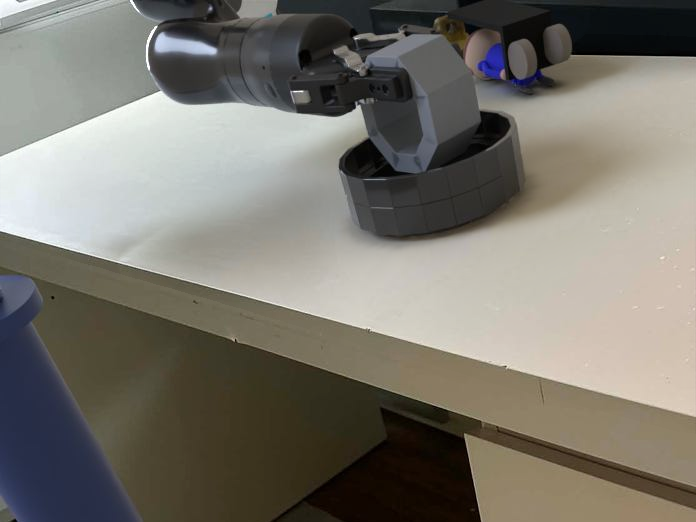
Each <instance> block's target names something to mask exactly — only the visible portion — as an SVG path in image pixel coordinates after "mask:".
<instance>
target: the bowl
mask: <svg viewBox="0 0 696 522" xmlns="http://www.w3.org/2000/svg"><path fill="white" fill-rule="evenodd" d="M479 112H480V117H481V122H480V124H479V126H478V128H477V130H476V132H475V134H474V136H473V138H472V140H471V142H470V144H469V146H468V148H467V150H466V151H465V152H464V153H462V154H460V155H458V156H457V157H455V158H453V159H451V160H450V161H448V162H446V163H444V164H443V165H441V166H439V167H437V168H436V169H433V170H428V171H424V172H420V173H416V174H413V173H407V172H400V171H396V170H395V169H394V168H393V167H392V166H391V164H390V163H389V162H388V161H387V159H386V158H385V157H384V156H383V154H382V153H381V152H380V151H379V149H378V148H377V147H376V146H375V144H374V143H373V142H372V141H371V139H370V138H369V136H368V135H367V136H366V137H364V138H362V139H360V140H359V141H358V142H357V143H355V144H353V145H352V146H350V147H349V148H348V149H346V151H345V152H344V153H342V155H341V157H339V159H338V167H337V170H338V173H339V178H340V180H341V184H342V187H343V190H344V195H345V198H346V201H347V205H348V209H349V212H350V215H351V219H352V221H353V223H354V224H355V225H356V226H357V227H358V228H359V229H360V230H362V231H365V232H368V233H372V234H375V235H378V236H381V235H382V236H388V237H399V238H400V237H401V238H402V237H403V238H405V237H406V238H408V237H421V236H428V235H434V234H440V233H444V232H448V231H451V230H456V229H459V228H461V227H464V226H467V225H469V224H473V223H475V222H478V221H480V220H481V219H484V218H486V217H488V216H490V215H491V214H493V213H495V212H496V211H498V210H499V209H501V208H502V207H503V206H505V205H506V204H508V203H509V202H510V201H512V199H514V198H515V197H516V196H517V195H518V194H520V193H521V191H522V189H523V188H524V185H525V183H526V175H525V169H524V162H523V155H522V148H521V142H520V136H519V129H518V125H517V122H516V120H515V119H516V118H515V117H514V116H513V115H511V114H509V113H506V112H505V111H502V110H494V109H487V108H479Z"/></svg>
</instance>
